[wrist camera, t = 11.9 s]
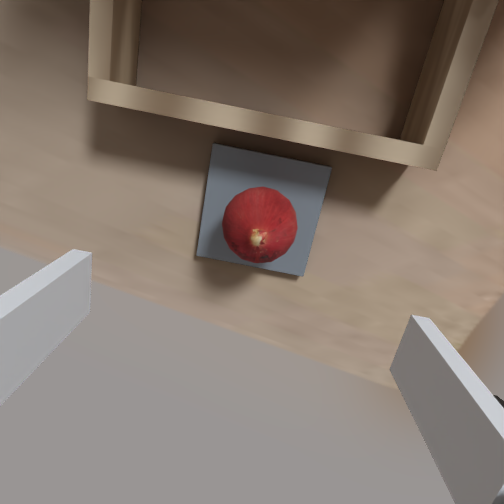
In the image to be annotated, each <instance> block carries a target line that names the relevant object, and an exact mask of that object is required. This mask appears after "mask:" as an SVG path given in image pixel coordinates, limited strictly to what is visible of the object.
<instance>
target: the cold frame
mask: <svg viewBox="0 0 504 504" xmlns="http://www.w3.org/2000/svg"><path fill="white" fill-rule="evenodd" d="M498 1H499V0H444V3H443V6H442V9H441V12H440V15H439V18H438V21H437V24H436V28H435V31H434V34H433V37H432V40H431V43H430V46H429V49H428V53H427V56H426V59H425V62H424V65H423V68H422V71H421V74H420V78H419V81H418V84H417V87H416V90H415V93H414V96H413V99H412V103H411V106H410V109H409V112H408V115H407V118H406V121H405V124H404V128H403V131H402V134H401V137H400V140H396V139H392V138H387V137H382V136H377V135H372V134H367V133H362V132H357V131H352V130H348V129H343V128H338V127H333V126H328V125H323V124H318V123H313V122H308V121H303V120H299V119H294V118H289V117H284V116H279V115H274V114H269V113H264V112H259V111H255V110H250V109H245V108H240V107H235V106H230V105H225V104H220V103H215V102H211V101H206V100H201V99H196V98H191V97H186V96H181V95H176V94H171V93H166V92H162V91H157V90H152V89H147V88H142V87H137V86H136V78H137V64H138V50H139V36H140V22H141V8H142V0H90V13H89V49H88V85H87V100H90V101H95V102H100V103H105V104H110V105H115V106H119V107H124V108H129V109H134V110H139V111H144V112H149V113H154V114H159V115H164V116H169V117H174V118H179V119H183V120H188V121H193V122H198V123H203V124H208V125H213V126H218V127H223V128H228V129H233V130H238V131H242V132H247V133H252V134H257V135H262V136H267V137H272V138H277V139H282V140H287V141H292V142H297V143H302V144H306V145H311V146H316V147H321V148H326V149H331V150H336V151H341V152H346V153H351V154H356V155H361V156H366V157H370V158H375V159H380V160H385V161H390V162H395V163H400V164H405V165H410V166H415V167H420V168H425V169H429V170H434V171H437V168H438V166H439V163H440V160H441V157H442V155H443V152H444V149H445V146H446V144H447V141H448V138H449V136H450V133H451V130H452V127H453V125H454V122H455V119H456V116H457V114H458V111H459V108H460V105H461V103H462V100H463V97H464V94H465V92H466V89H467V86H468V83H469V81H470V78H471V75H472V73H473V70H474V67H475V64H476V62H477V59H478V56H479V53H480V51H481V48H482V45H483V42H484V40H485V37H486V34H487V31H488V29H489V26H490V23H491V20H492V18H493V15H494V12H495V10H496V7H497V4H498Z"/></svg>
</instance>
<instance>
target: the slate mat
mask: <svg viewBox="0 0 504 504" xmlns="http://www.w3.org/2000/svg"><path fill="white" fill-rule="evenodd" d="M331 170H332V167H330V166H326V165H321V164H316V163H311V162H306V161H301V160H296V159H292V158H287V157H282V156H277V155H272V154H267V153H262V152H257V151H252V150H247V149H242V148H237V147H232V146H227V145H222V144H217V143H213V146H212V153H211V159H210V166H209V173H208V180H207V187H206V194H205V200H204V207H203V214H202V221H201V228H200V234H199V241H198V248H197V256H202V257H207V258H212V259H217V260H222V261H227V262H232V263H237V264H242V265H247V266H252V267H257V268H262V269H268V270H273V271H278V272H283V273H288V274H293V275H298V276H304V272H305V268H306V264H307V261H308V257H309V253H310V249H311V245H312V242H313V238H314V234H315V230H316V226H317V223H318V219H319V215H320V211H321V207H322V204H323V200H324V196H325V192H326V189H327V185H328V181H329V177H330V173H331ZM255 187H267V188H271V189H275V190H277V191H279V192H280V193H281V194H282V195H284V196H285V197H286V198H288V199H289V200H290V202H291V204H292V206H293V208H294V210H295V212H296V218H297V226H298V229H297V233H296V236H295V240H294V242H293V244H292V245H291V247H290V248H289V249H288V251H287V252H286V253H285V254H284V255H282V256H281V257H279V258H277V259H275V260H274V261H272V262H266V263H253V262H249V261H246V260H243V259H241V258H240V257H239V256H237V255H236V254H235V253H234V252H233V251H231V250H230V248H229V246H228V244H227V242H226V241H225V239H224V235H223V228H222V220H223V216H224V212H225V208H226V206H227V205H228V204H229V202H230V201H231V200H232V199H233V197H234V196H235V195H237V194H239V193H241V192H243V191H245V190H247V189H249V188H255Z"/></svg>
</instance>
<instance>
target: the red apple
mask: <svg viewBox="0 0 504 504" xmlns="http://www.w3.org/2000/svg"><path fill="white" fill-rule="evenodd" d="M222 228H223V235H224V239H225V241H226V242H227V244H228V246H229V248H230V250H231V251H233V252H234V253H235V254H236V255H237V256H239V257H240V258H241V259H243V260H246V261H249V262H253V263H266V262H272V261H274V260H275V259H277V258H279V257H281V256H282V255H284V254H285V253H286V252H287V251H288V249H289V248H290V247H291V245H292V244H293V242H294V240H295V236H296V233H297V229H298V226H297V218H296V212H295V210H294V208H293V206H292V204H291V202H290V200H289V199H288V198H286V197H285V196H284V195H282V194H281V193H280V192H279V191H277V190H275V189H271V188H267V187H255V188H249V189H247V190H245V191H243V192H241V193H239V194H237V195H235V196H234V197H233V199H232V200H231V201H230V202H229V204H228V205H227V206H226V208H225V212H224V216H223V220H222Z"/></svg>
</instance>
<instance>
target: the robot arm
mask: <svg viewBox="0 0 504 504" xmlns="http://www.w3.org/2000/svg"><path fill="white" fill-rule="evenodd" d="M91 271H92V253H91V252H86V251H81V250H76V249H72V250H71V251H69V252H68V253H66V254H65V255H63V256H61V257H60V258H58V259H57V260H55V261H54V262H52V263H50V264H49V265H47V266H46V267H44V268H43V269H41V270H40V271H38V272H37V273H35V274H33V275H32V276H30V277H29V278H27V279H25V280H24V281H22V282H21V283H19V284H18V285H16V286H14V287H13V288H11V289H10V290H8V291H6V292H5V293H3V294H2V295H0V406H1V405H2V404H3V403H4V401H6V400H7V398H9V396H10V395H11V394H12V393H13V392H14V391H15V390H16V389H17V388H18V387H19V386H20V385H21V384H22V383H23V382H24V381H25V380H26V379H27V378H28V377H29V376H30V374H31V373H32V372H33V371H34V370H35V369H36V368H37V367H38V366H39V365H40V364H41V363H42V362H43V361H44V360H45V359H46V358H47V357H48V356H49V355H50V354H51V352H52V351H53V350H54V349H55V348H56V347H57V346H58V345H59V344H60V343H61V342H62V341H63V340H64V339H65V338H66V337H67V336H68V335H69V334H70V332H72V331H73V329H74V328H75V327H76V326H77V325H78V324H79V323H80V322H81V321H82V320H83V319H84V318H85V317H86V316H87V315H88V314H89V312H90V297H91ZM390 371H391V373H392V375H393V377H394V379H395V381H396V383H397V385H398V388H399V390H400V391H401V394H402V396H403V398H404V400H405V402H406V404H407V406H408V408H409V410H410V412H411V414H412V416H413V418H414V420H415V422H416V424H417V426H418V428H419V430H420V432H421V435H422V436H423V439H424V441H425V443H426V445H427V447H428V449H429V451H430V453H431V455H432V457H433V459H434V461H435V463H436V465H437V467H438V469H439V471H440V473H441V475H442V477H443V479H444V482H445V484H446V486H447V488H448V490H449V492H450V494H451V496H452V498H453V500H454V502H455V504H504V401H503V400H502V399H500V398H499V397H498V396H495V395H492V393H491V392H490V391H489V390H488V389H487V387H486V386H485V385H484V384H483V383H482V381H481V380H480V379H479V378H478V376H477V375H476V374H475V373H474V372H473V371H472V369H471V368H470V367H469V366H468V364H467V363H466V362H465V361H464V359H463V358H462V357H461V356H460V355H459V353H458V352H457V351H456V350H455V349H454V347H453V346H452V345H451V344H450V342H449V341H448V340H447V339H446V338H445V336H444V335H443V334H442V333H441V332H440V330H439V329H438V328H437V327H436V325H435V324H434V323H433V322H432V321H431V319H430V318H426V317H421V316H415V315H411V317H410V319H409V322H408V324H407V327H406V329H405V332H404V334H403V337H402V339H401V342H400V344H399V347H398V349H397V352H396V355H395V357H394V360H393V362H392V365H391V367H390Z"/></svg>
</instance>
